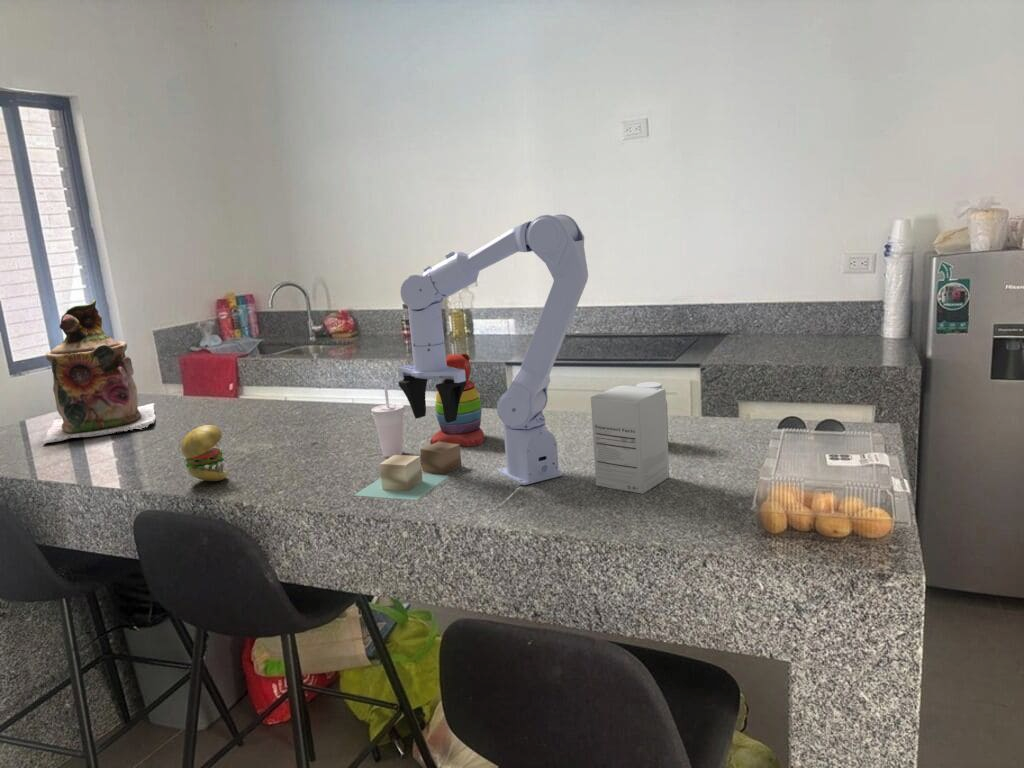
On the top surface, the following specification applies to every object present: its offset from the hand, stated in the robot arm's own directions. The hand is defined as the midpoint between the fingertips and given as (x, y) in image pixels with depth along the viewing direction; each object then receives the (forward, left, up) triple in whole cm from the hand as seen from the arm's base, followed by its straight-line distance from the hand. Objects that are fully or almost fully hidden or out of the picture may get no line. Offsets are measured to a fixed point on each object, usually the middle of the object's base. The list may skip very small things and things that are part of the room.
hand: (435, 419), depth 134 cm
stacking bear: (+16, -11, -10) cm, 22 cm away
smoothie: (+15, +4, -10) cm, 18 cm away
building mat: (-4, +9, -9) cm, 14 cm away
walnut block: (0, 0, -10) cm, 10 cm away
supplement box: (-27, -22, -10) cm, 37 cm away
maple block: (-4, +9, -9) cm, 13 cm away
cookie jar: (+92, +54, -10) cm, 107 cm away
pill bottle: (-13, -37, -10) cm, 41 cm away
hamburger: (+23, +37, -10) cm, 44 cm away
